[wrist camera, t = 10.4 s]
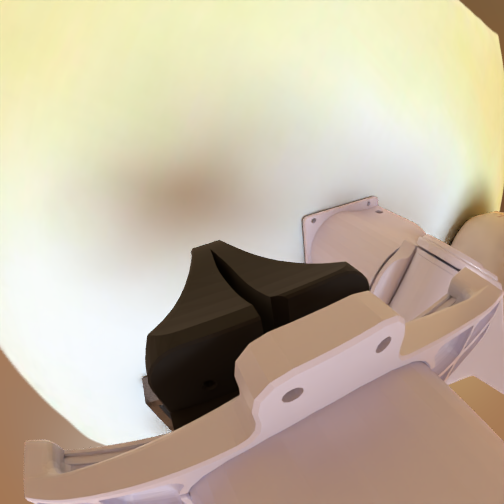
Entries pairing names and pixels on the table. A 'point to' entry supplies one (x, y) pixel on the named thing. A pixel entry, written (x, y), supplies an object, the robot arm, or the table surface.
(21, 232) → the table surface
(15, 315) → the table surface
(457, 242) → the chamber pot
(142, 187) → the table surface
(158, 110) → the table surface
